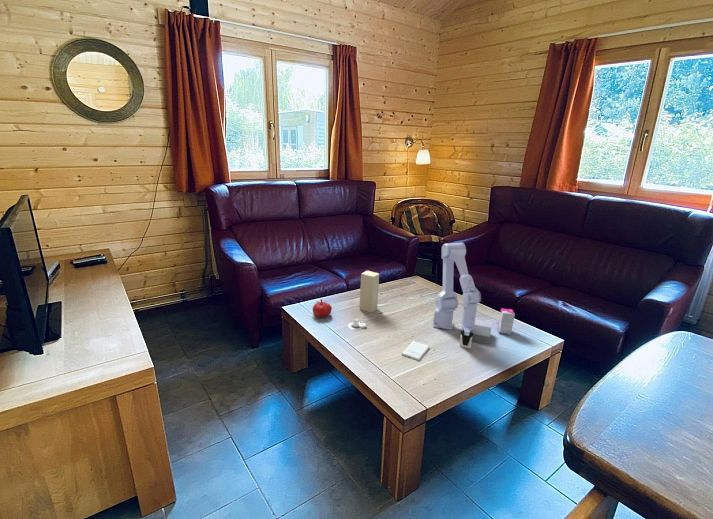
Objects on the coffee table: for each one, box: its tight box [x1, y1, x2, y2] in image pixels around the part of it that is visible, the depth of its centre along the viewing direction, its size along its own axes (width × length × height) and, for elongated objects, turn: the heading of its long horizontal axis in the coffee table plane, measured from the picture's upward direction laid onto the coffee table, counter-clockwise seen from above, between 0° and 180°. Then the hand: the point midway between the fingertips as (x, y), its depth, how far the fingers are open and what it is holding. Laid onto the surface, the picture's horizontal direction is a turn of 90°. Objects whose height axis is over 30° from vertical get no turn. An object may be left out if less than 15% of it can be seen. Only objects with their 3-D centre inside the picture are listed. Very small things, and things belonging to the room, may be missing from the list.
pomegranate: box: [312, 298, 333, 319], centre depth 201 cm, size 10×10×9 cm
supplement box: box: [497, 308, 516, 336], centre depth 189 cm, size 6×6×12 cm
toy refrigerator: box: [359, 270, 380, 313], centre depth 209 cm, size 8×7×21 cm
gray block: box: [471, 324, 492, 345], centre depth 185 cm, size 10×10×4 cm
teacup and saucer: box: [347, 317, 367, 331], centre depth 192 cm, size 9×8×4 cm
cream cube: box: [459, 334, 473, 349], centre depth 177 cm, size 5×5×5 cm
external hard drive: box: [401, 340, 430, 361], centre depth 171 cm, size 2×8×12 cm
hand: (465, 342), depth 177 cm, fingers closed on cream cube, 5 cm apart
